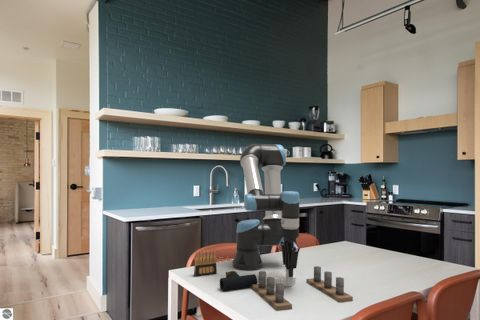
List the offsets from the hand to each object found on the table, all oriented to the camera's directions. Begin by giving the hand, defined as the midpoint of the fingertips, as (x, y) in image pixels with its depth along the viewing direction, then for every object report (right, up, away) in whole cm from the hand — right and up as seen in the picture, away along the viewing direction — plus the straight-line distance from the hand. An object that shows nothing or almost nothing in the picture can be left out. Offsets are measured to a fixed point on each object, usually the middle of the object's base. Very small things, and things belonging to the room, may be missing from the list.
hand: (289, 283), depth 146 cm
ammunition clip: (-37, -1, +14) cm, 40 cm away
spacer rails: (+3, -1, -9) cm, 9 cm away
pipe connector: (-23, -1, 0) cm, 23 cm away
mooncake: (-2, -2, +6) cm, 7 cm away
